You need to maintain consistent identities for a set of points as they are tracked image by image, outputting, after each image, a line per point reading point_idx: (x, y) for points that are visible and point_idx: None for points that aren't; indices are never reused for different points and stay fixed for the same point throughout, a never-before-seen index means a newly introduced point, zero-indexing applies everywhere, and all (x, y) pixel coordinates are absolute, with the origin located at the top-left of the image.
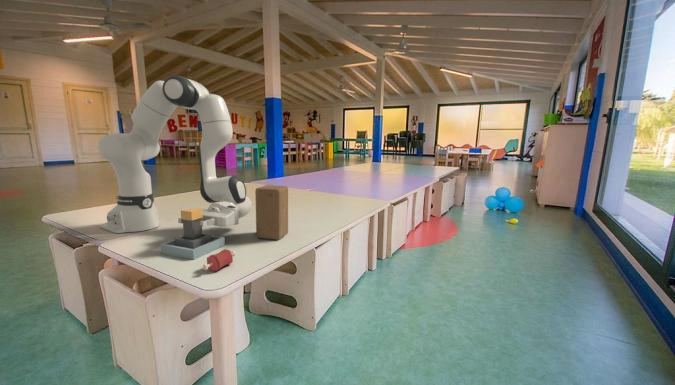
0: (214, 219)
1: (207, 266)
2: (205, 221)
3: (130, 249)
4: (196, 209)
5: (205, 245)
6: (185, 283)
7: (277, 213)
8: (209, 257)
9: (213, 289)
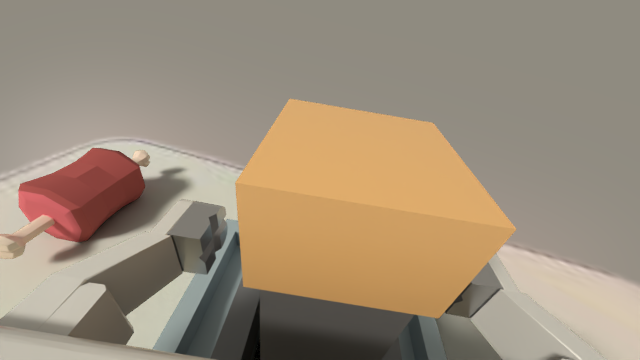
0: (32, 300)
1: (133, 156)
2: (166, 216)
3: (534, 281)
4: (311, 150)
5: (191, 281)
6: (189, 152)
7: None
8: (124, 156)
9: (114, 141)
